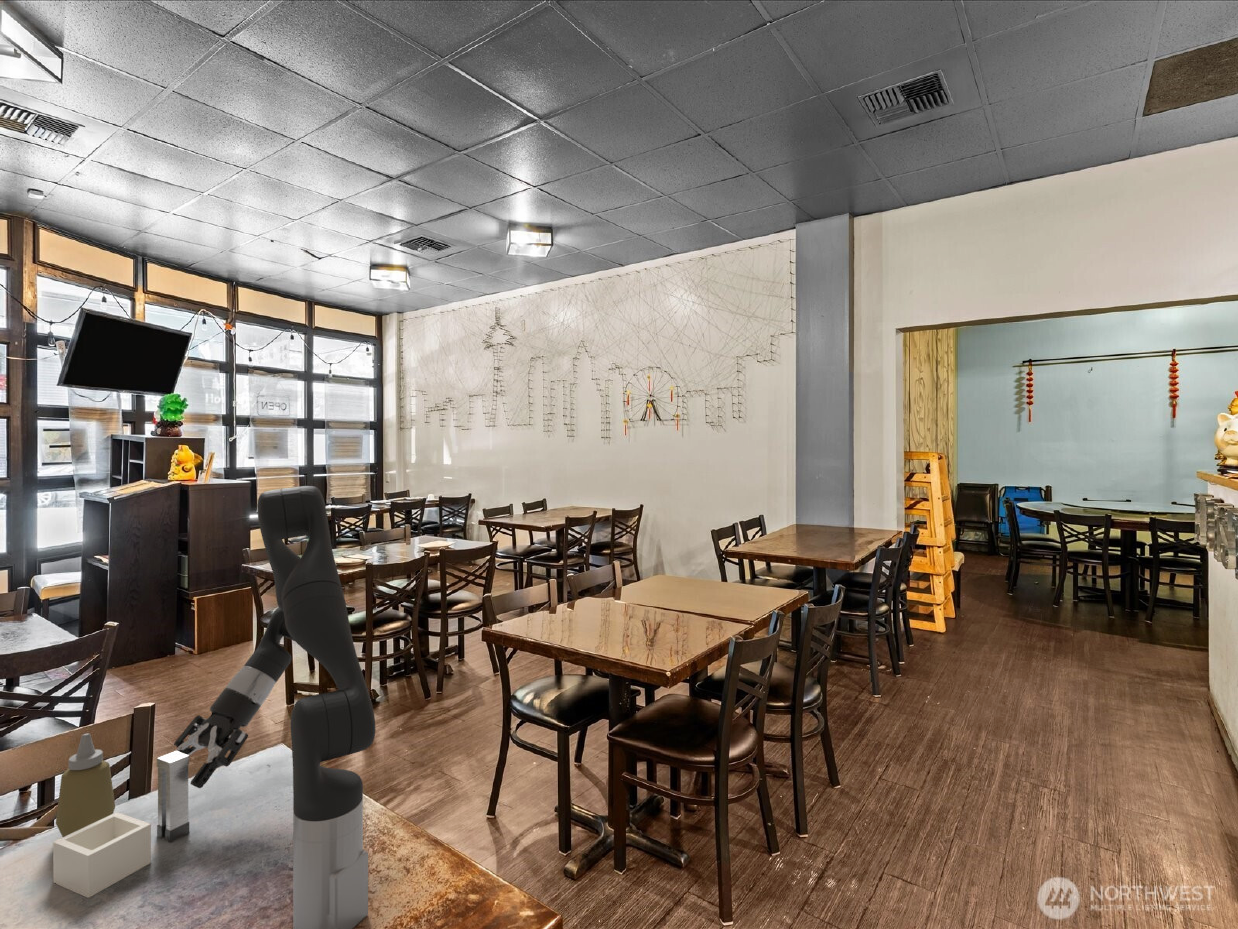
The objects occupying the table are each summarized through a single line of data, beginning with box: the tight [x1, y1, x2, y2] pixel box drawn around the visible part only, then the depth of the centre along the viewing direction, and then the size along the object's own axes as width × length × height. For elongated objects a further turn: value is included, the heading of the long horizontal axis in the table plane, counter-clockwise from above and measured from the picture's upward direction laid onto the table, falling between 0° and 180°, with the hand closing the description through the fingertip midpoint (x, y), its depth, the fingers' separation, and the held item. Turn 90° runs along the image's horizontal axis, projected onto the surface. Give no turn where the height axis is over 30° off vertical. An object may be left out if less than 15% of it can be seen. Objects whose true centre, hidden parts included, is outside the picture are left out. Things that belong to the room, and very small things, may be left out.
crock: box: [52, 811, 152, 899], centre depth 102 cm, size 9×9×6 cm
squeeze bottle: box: [55, 733, 116, 838], centre depth 111 cm, size 8×8×18 cm
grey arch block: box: [156, 750, 190, 843], centre depth 112 cm, size 4×3×14 cm
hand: (181, 780), depth 113 cm, fingers open, 8 cm apart
